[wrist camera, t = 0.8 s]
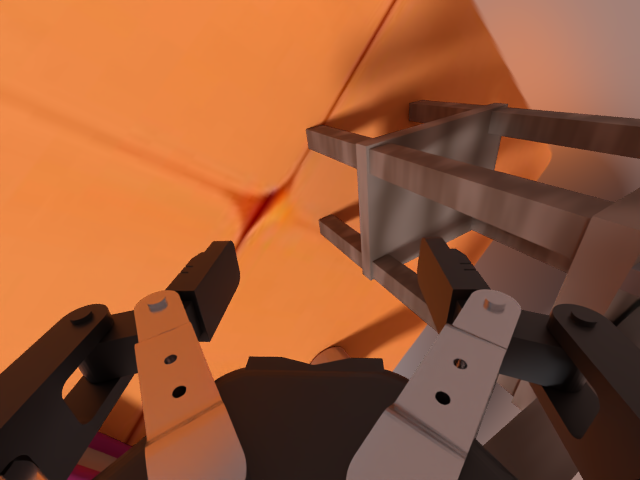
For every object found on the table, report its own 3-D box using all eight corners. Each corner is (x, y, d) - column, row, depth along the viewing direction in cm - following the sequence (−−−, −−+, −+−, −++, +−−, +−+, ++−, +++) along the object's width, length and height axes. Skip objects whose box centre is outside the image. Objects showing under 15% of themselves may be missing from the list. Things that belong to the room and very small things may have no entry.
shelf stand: (423, 97, 43) (839, 129, 18) (417, 196, 52) (690, 313, 27) (303, 127, 36) (705, 250, 11) (319, 235, 45) (563, 446, 20)
